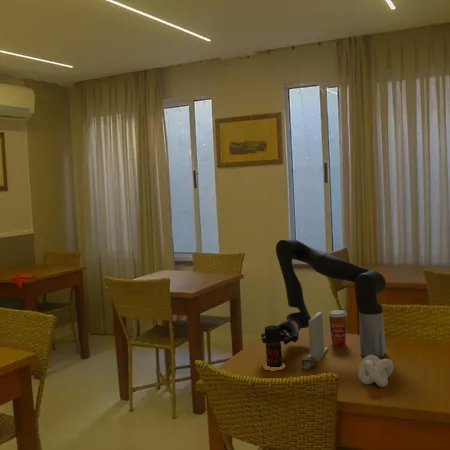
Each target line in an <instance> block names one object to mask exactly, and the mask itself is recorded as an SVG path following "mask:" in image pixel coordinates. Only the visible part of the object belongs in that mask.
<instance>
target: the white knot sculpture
mask: <svg viewBox="0 0 450 450" xmlns="http://www.w3.org/2000/svg"><path fill="white" fill-rule="evenodd" d="M394 368H395V366H394V362H393V361H392V360H391V359H390V358H383V359H381V358H380V357H377V356H375V355H368V356H366V357H363V358H362V360H361V361H360V363H359V366H358V371H357V374H358V378H359V380H360V382H361V383H363V384H364V385H368V386H369V385H371V384H374V383H375V384H376V385H377V386H378V387H380V388H385V387H387V386H388V385H389V384H388V383H389V380H388V378H389V377H390V376H391V375H392V374H393V372H394Z"/></svg>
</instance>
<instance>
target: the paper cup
mask: <svg viewBox="0 0 450 450" xmlns="http://www.w3.org/2000/svg"><path fill="white" fill-rule="evenodd" d="M347 315H348V314H347V312H346V311H345V310H341V309H340V310H339V309H337V310H331V311H329V313H328V315H327V316H328V318H329V319H328V320H329V327H330V329H329V330H330V337H331V344H332V345H333V346H334V345H335V347H343V346H345V345H346V339H347V337H346V336H347V332H346V331H347V329H346V327H347Z"/></svg>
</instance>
